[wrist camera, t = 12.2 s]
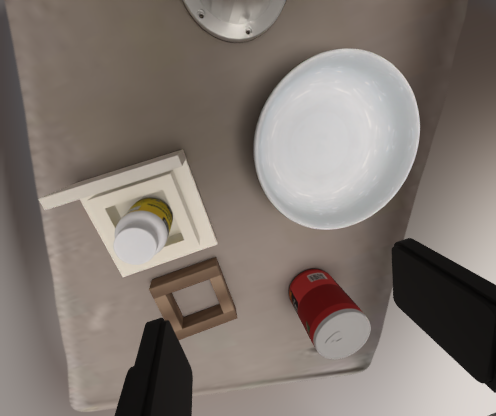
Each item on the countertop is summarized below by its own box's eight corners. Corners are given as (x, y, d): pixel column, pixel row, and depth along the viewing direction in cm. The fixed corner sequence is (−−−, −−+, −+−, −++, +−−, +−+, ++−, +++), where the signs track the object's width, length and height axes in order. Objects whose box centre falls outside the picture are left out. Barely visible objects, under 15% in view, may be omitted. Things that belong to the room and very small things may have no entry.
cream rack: (76, 182, 32) (38, 199, 24) (182, 149, 33) (177, 155, 26) (125, 272, 37) (105, 309, 29) (217, 240, 38) (221, 268, 30)
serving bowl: (241, 62, 31) (252, 45, 25) (391, 64, 35) (435, 49, 28) (246, 219, 38) (256, 238, 31) (373, 208, 41) (405, 223, 35)
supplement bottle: (181, 220, 35) (175, 253, 25) (148, 241, 35) (130, 281, 25) (156, 187, 33) (139, 210, 24) (121, 210, 33) (91, 242, 24)
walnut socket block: (152, 279, 38) (149, 289, 35) (216, 257, 38) (217, 265, 36) (177, 329, 41) (175, 341, 39) (235, 307, 42) (237, 318, 39)
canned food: (278, 291, 42) (303, 343, 32) (312, 258, 42) (349, 300, 31) (306, 314, 45) (338, 369, 35) (339, 283, 44) (381, 330, 34)
